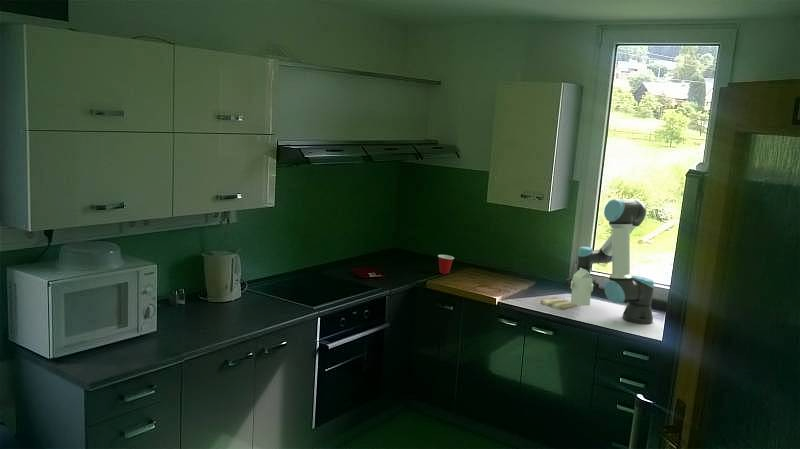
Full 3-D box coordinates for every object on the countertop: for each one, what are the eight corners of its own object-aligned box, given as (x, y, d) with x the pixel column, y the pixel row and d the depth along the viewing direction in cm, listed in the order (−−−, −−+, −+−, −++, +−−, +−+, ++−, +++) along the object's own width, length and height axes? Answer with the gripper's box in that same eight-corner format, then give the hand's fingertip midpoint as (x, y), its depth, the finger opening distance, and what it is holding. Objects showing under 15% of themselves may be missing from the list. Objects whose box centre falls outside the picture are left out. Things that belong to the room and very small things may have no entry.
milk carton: (577, 306, 329) (581, 270, 326) (570, 302, 336) (574, 267, 333) (589, 305, 331) (593, 270, 328) (582, 302, 338) (585, 267, 335)
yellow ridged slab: (577, 306, 356) (577, 303, 356) (563, 310, 347) (563, 307, 347) (554, 299, 367) (554, 297, 367) (540, 303, 358) (540, 300, 358)
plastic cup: (455, 276, 409) (456, 257, 407) (439, 276, 406) (440, 257, 404) (450, 271, 419) (451, 254, 417) (434, 271, 416) (435, 254, 414)
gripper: (603, 287, 346) (603, 297, 325) (561, 282, 352) (559, 291, 331) (604, 274, 345) (604, 283, 324) (562, 269, 351) (560, 277, 330)
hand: (581, 287), depth 328 cm, fingers closed on milk carton, 10 cm apart
